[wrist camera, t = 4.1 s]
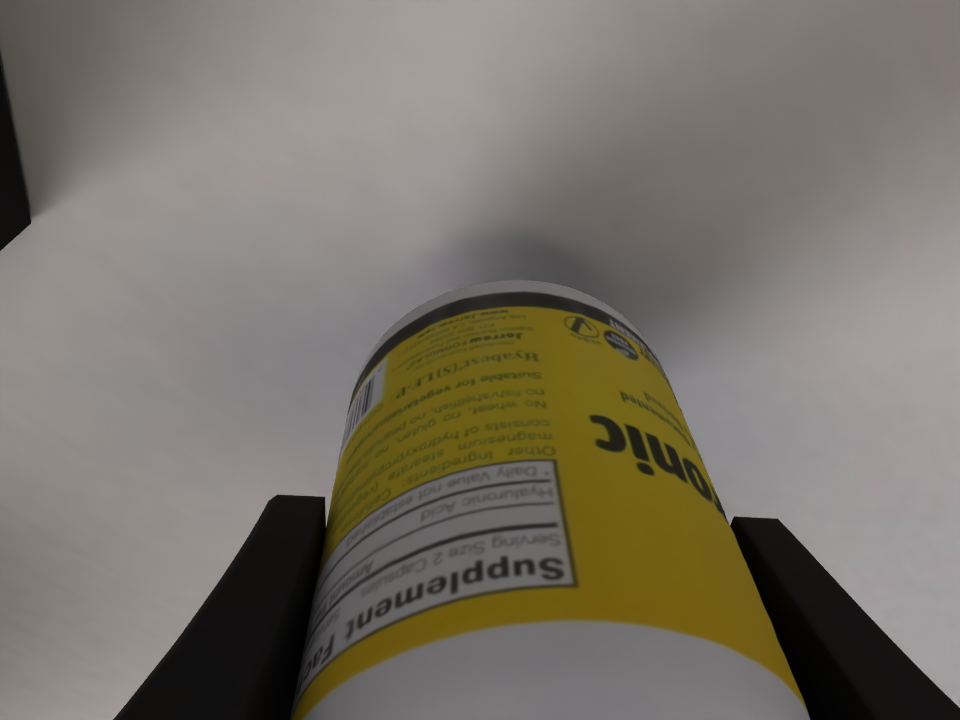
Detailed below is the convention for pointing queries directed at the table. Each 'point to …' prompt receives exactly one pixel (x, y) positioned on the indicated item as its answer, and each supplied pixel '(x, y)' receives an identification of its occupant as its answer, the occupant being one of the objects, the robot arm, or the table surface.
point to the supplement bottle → (530, 532)
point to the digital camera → (10, 179)
